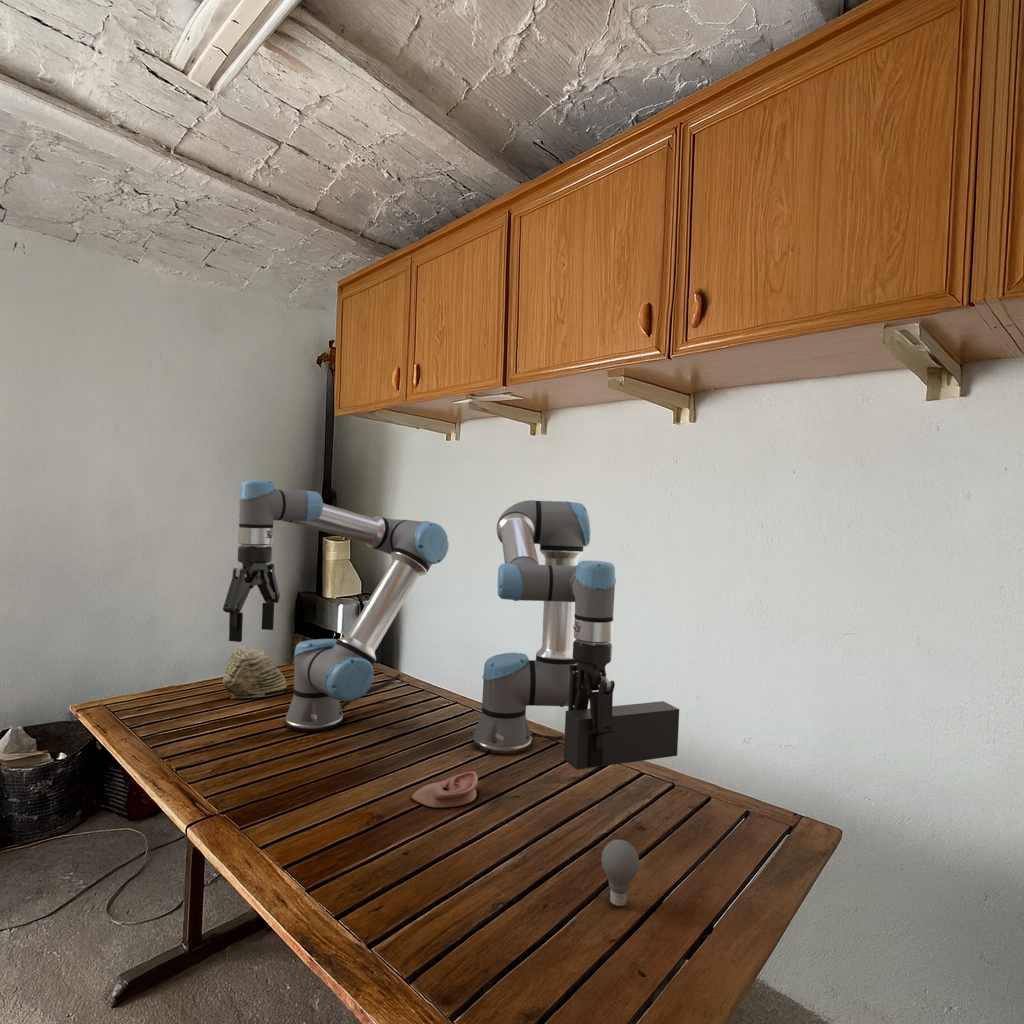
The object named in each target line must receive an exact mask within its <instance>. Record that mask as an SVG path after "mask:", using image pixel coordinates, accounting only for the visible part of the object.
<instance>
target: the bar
mask: <svg viewBox="0 0 1024 1024" xmlns="http://www.w3.org/2000/svg"><path fill="white" fill-rule="evenodd" d="M564 716H565V718H564V719H565V721H564V737H563V739H564V740H563V741H564V742H563V760H564V761H566V762H567V763H568V764H569V765H570V766H571V767H572V768H574V769H575V770H576V771H578V770H579V771H580V770H584V769H593V768H594V767H589V766H588V753H589V731H592V722H591V711H590V707H589V708H587V709H579V710H569V711H568V710H565V715H564ZM679 725H680V708H678V707H676V706H674V705H673V704H670V703H668V702H666V701H664V700H662V701H651V702H642V703H641V702H640V703H632V704H631V703H630V704H622V705H612V732H611V733H605V734H604V747H603V760H602V766H596V767H595V768H599V767H607V766H614V765H621V764H628V763H635V762H636V763H637V762H642V761H649V760H657V759H664V758H671V757H677V756H678V750H679V749H678V748H679V747H678V746H679V729H680V727H679Z"/></svg>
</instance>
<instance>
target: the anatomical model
mask: <svg viewBox="0 0 1024 1024" xmlns="http://www.w3.org/2000/svg"><path fill="white" fill-rule="evenodd" d="M478 777H479V776H478V775H477V772H475V771H466V772H463V773H462V772H461V773H459V774H456V775H454V776H451V777H448V778H445V779H444V780H441V781H438V782H433V783H429V784H426V785H424V786H421V788H419V789H417V790H416V791H414V792H413V794H412V795H411V799H412V800H414V801H415V802H417V803H419V804H421V805H423V806H427V807H428V808H429V807H430V808H435V809H439V808H452V807H459V806H464V805H466V804H469V803H471V802H473V801H474V800H475V799H476V798H477V795H478V794H477V789H476V787H477V786H478V783H479V782H478V781H479V778H478Z"/></svg>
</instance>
